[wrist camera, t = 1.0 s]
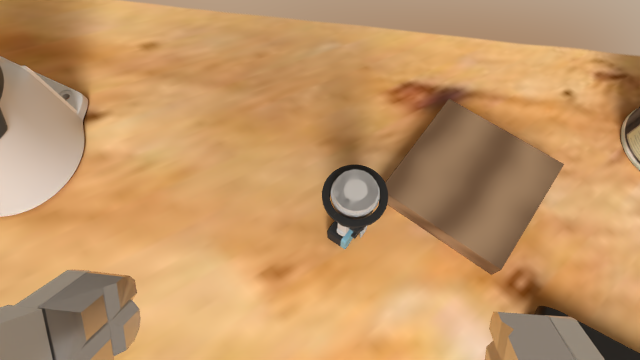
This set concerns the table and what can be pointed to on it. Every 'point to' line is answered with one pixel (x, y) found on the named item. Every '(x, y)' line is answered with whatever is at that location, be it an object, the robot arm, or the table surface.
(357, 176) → the push button
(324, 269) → the table surface
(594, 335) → the black bar
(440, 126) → the plinth
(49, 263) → the table surface
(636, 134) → the coffee can
